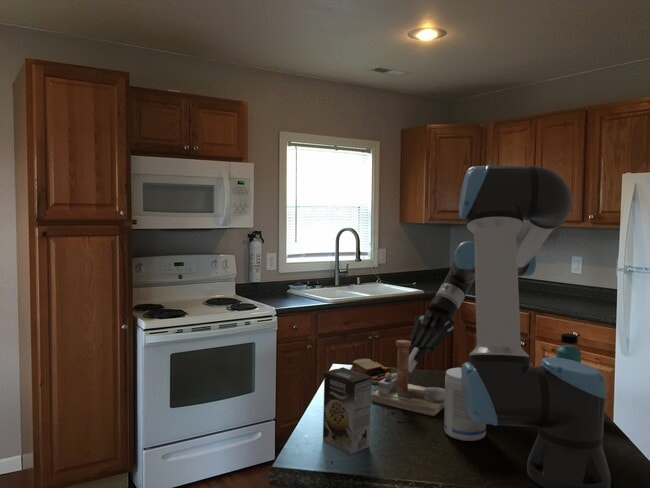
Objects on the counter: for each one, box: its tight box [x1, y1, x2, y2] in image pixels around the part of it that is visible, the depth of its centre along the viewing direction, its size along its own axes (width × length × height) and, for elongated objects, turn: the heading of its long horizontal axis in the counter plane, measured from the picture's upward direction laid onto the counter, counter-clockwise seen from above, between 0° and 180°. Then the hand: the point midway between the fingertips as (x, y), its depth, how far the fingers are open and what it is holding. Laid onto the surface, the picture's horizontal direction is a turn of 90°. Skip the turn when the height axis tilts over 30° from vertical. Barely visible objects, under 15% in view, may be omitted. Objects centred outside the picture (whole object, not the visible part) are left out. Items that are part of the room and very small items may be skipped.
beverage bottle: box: [555, 333, 582, 363], centre depth 147 cm, size 6×7×20 cm
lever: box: [395, 339, 445, 402], centre depth 147 cm, size 14×6×14 cm, turn 72°
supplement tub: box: [443, 367, 487, 442], centre depth 129 cm, size 10×10×15 cm
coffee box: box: [322, 367, 373, 455], centre depth 122 cm, size 9×6×16 cm
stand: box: [371, 372, 445, 417], centre depth 150 cm, size 14×18×7 cm
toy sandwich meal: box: [349, 358, 394, 385], centre depth 170 cm, size 12×14×5 cm
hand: (407, 369), depth 151 cm, fingers closed
